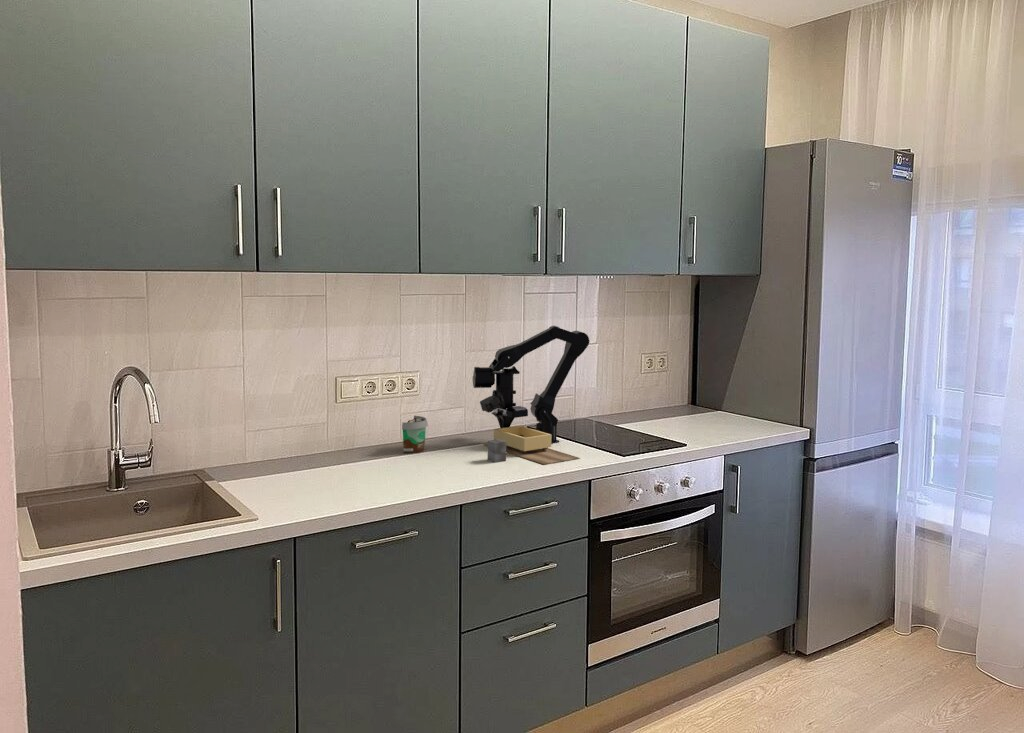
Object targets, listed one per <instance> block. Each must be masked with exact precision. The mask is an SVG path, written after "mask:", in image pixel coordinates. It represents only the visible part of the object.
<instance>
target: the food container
mask: <svg viewBox="0 0 1024 733" xmlns="http://www.w3.org/2000/svg"><path fill="white" fill-rule="evenodd" d="M428 426H429V424H428V420H427V418H426V417H424V416H420V415H413V419H409V420H408V421H407V422H402V424H401V430H402V445H403V455H405V454H407V455H410V454H411V455H412V454H421V453H423V452H425V444H426V430H427V427H428Z"/></svg>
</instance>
